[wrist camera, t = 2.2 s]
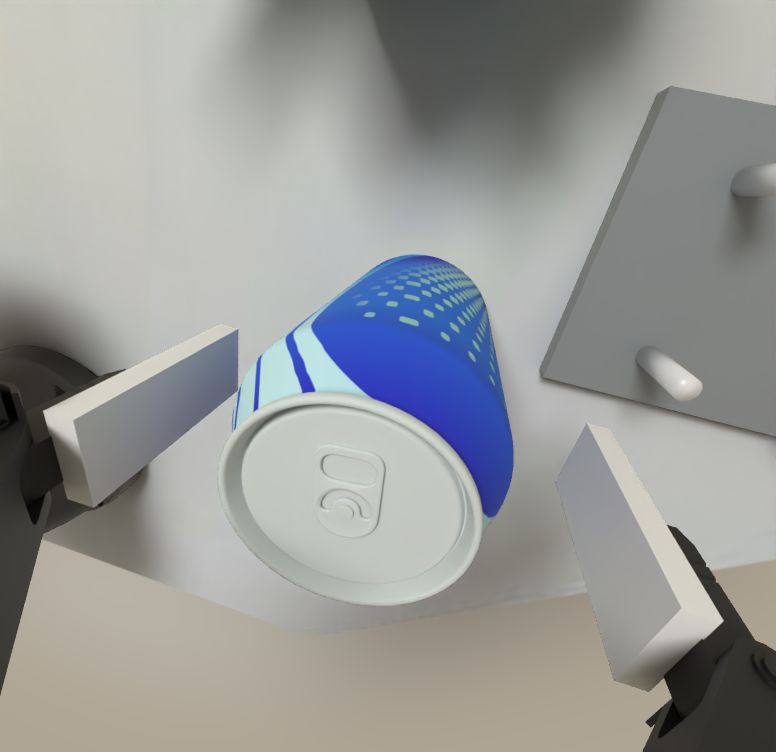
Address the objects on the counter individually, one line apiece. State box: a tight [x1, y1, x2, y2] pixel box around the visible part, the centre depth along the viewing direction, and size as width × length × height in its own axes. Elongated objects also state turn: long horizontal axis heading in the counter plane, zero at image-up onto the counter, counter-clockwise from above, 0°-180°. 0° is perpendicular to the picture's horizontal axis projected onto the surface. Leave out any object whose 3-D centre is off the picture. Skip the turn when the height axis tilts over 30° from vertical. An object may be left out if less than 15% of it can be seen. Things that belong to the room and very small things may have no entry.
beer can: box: [218, 255, 513, 606], centre depth 16 cm, size 8×8×16 cm
